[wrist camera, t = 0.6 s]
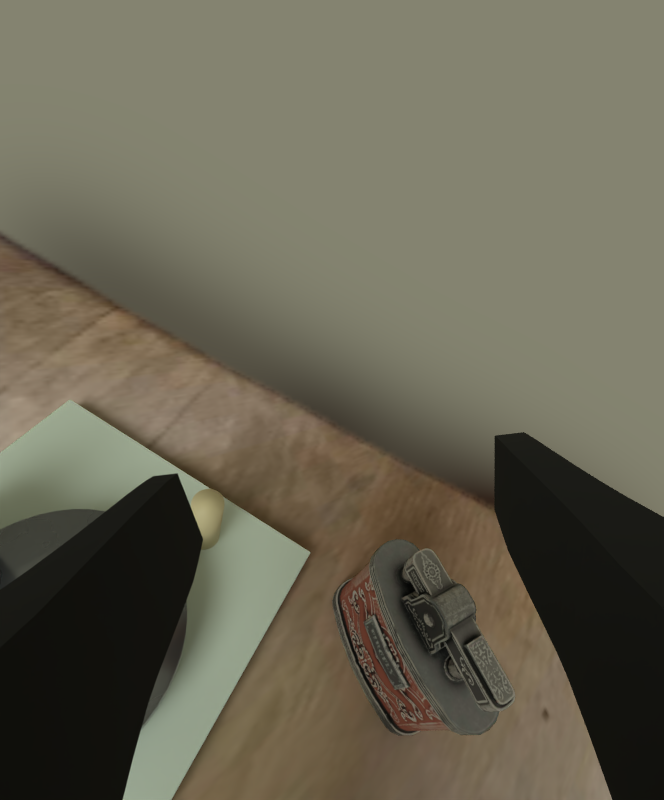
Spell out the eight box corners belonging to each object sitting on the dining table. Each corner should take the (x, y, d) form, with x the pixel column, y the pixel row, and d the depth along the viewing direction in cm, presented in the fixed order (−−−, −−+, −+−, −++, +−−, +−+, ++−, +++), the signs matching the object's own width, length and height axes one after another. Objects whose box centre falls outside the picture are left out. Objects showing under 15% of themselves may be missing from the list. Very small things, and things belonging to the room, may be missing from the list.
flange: (232, 594, 23) (240, 568, 19) (52, 870, 16) (15, 907, 12) (20, 454, 24) (-7, 407, 21) (-230, 652, 17) (-333, 631, 14)
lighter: (320, 595, 26) (376, 535, 18) (367, 572, 27) (438, 508, 20) (387, 750, 22) (493, 758, 15) (437, 714, 24) (557, 703, 16)
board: (61, 993, 16) (15, 1088, 11) (-300, 701, 17) (-455, 689, 13) (307, 557, 27) (329, 524, 23) (72, 408, 29) (53, 352, 25)
